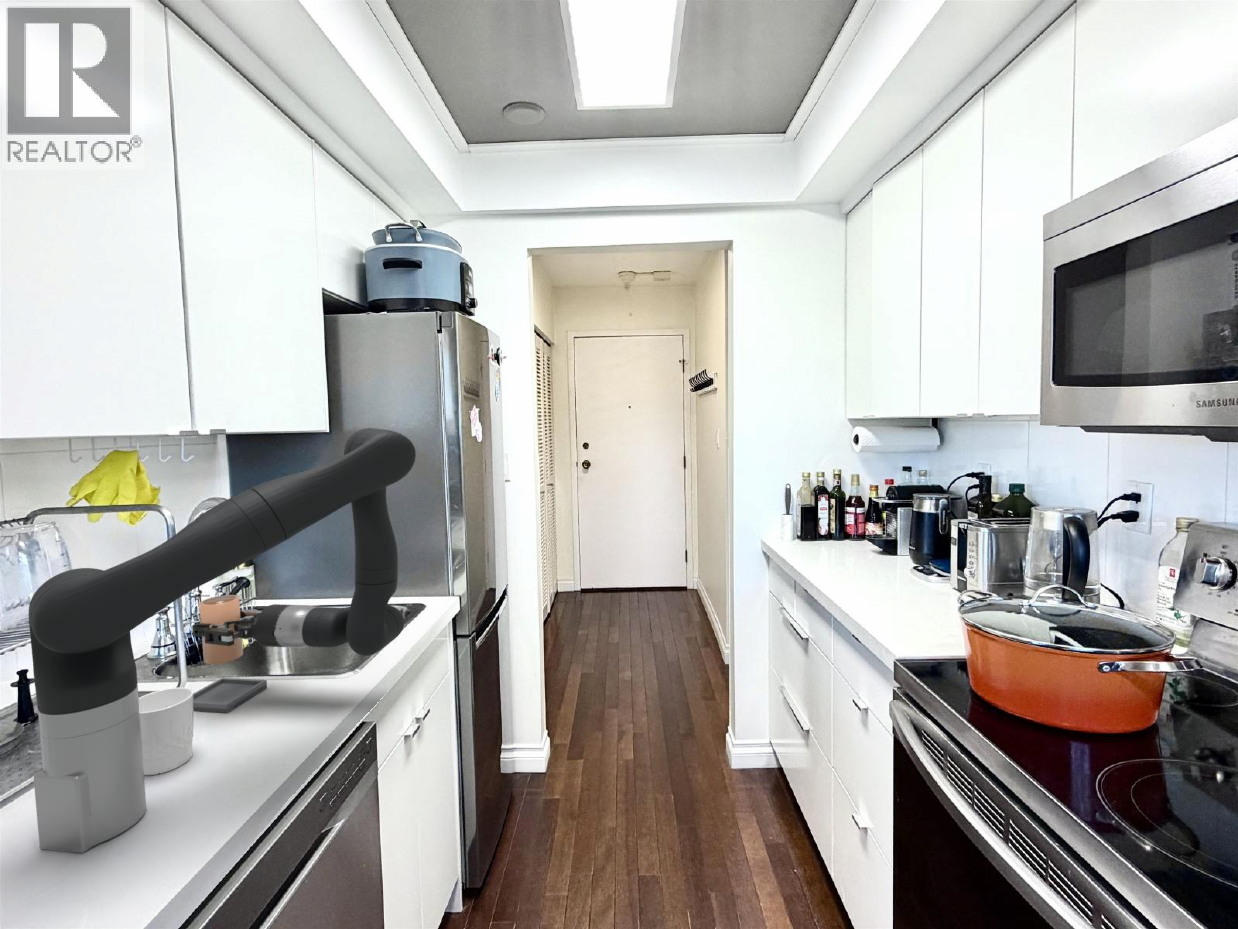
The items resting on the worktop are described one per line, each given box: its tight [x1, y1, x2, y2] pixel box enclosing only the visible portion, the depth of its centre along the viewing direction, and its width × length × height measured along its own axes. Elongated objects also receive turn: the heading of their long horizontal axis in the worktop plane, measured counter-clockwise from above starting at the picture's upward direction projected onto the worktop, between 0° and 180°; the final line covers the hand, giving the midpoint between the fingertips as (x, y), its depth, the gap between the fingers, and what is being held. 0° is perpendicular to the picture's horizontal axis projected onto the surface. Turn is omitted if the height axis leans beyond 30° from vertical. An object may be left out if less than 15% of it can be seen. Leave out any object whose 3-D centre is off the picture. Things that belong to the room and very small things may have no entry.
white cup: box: [138, 687, 195, 776], centre depth 85 cm, size 8×8×10 cm
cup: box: [199, 594, 244, 665], centre depth 104 cm, size 6×6×11 cm
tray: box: [193, 677, 268, 714], centre depth 105 cm, size 10×10×2 cm
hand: (209, 623), depth 105 cm, fingers closed on cup, 6 cm apart
